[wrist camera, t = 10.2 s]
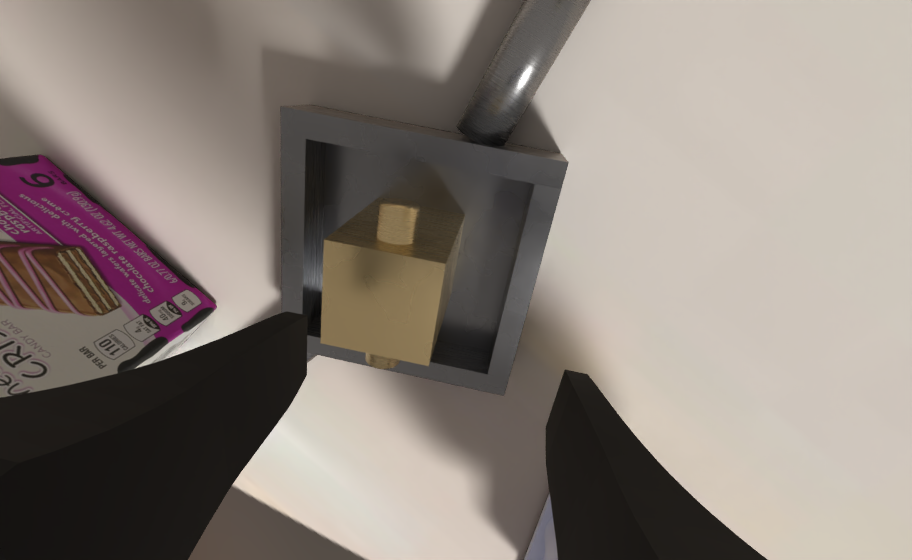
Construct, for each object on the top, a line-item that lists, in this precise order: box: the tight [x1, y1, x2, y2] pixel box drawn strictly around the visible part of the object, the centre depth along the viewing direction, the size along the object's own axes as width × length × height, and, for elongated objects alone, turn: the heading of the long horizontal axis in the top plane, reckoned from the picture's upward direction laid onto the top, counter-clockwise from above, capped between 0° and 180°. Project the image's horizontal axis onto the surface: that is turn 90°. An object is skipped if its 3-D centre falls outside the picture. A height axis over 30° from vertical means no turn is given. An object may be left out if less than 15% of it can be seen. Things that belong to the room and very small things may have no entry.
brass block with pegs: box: [320, 198, 465, 369], centre depth 17 cm, size 6×4×6 cm, turn 171°
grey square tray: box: [281, 105, 569, 396], centre depth 19 cm, size 11×11×2 cm
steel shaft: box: [457, 0, 591, 146], centre depth 16 cm, size 7×2×2 cm, turn 150°
